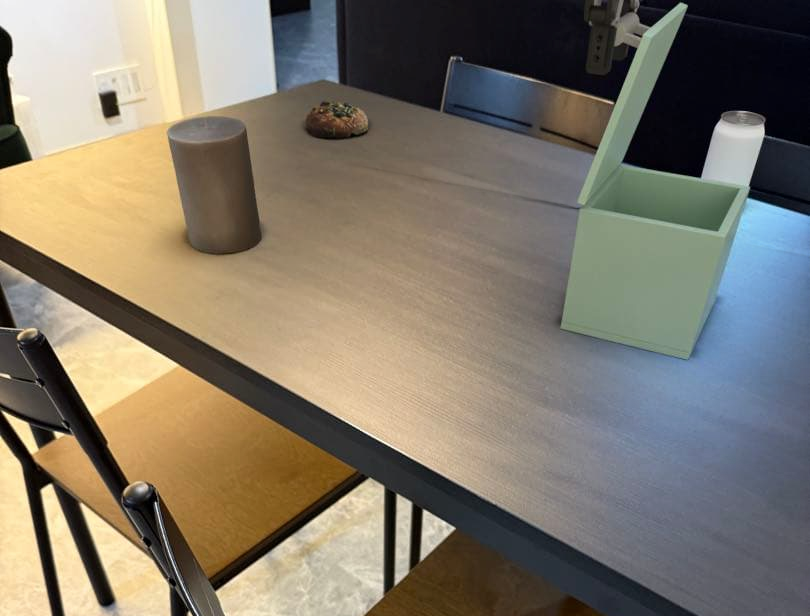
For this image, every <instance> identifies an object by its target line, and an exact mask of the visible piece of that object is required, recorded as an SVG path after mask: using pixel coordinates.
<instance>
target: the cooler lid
mask: <svg viewBox="0 0 810 616" xmlns="http://www.w3.org/2000/svg"><path fill="white" fill-rule="evenodd" d="M688 6H689V5H688V4H685V3H683V2H679V3H678V4H677V5H676V6H675V7H674V8H672V9H671V10H670V11H669V12H668V13H666V14H665V15H664V16H663V17H662V18H660V19H659V20H658V21H657V22H656V23H655V24H653V25H652V26H648V25H645V24H642V23H641V22H640V18H639V16H638V14H637V13H633V12H629V13H626V14H625V15H624V16H622V17H621V18H620V21H619V23H618V25H617V32H616V38H615V45H614V46H618V45H620V44H621V43H622V42H624V43H626V44H629V46H631V47H633V48H636V51H635V54H634V57H633V59H632V62H631V64H630V67H629V69H628V72H627V74H626V77H625V80H624V81H623V85H622V87H621V90H620V92H619V95H618V97H617V100H616V102H615V105H614V107H613V110H612V112H611V114H610V117H609V120H608V123H607V125H606V127H605V131H604V133H603V135H602V138H601V141H600V143H599V146H598V147H597V150H596V153H595V155H594V158H593V161H592V163H591V166H590V168H589V171H588V172H587V173H588V174H587V176H586V178H585V181H584V184H583V186H582V188H581V191H580V194H579V196H578V198H577V201H576V203H577V204H579V205H582V206H583V205H585V204H586V203H587V202H588V200H589V199H590V198H591V197H592V196H593V195H594V193H595V192H596V191H597V190H598V189H599V187H600V186H601V185H602V184H603V183H604V182H605V180H606V179H607V178H608V177H609V176H610V175H611V173H612V172H613V171H614V170H615V169H616V168H617V166H618V165H621V163H622V162H623V160H624V158H625V156H626V153H627V152H628V149H629V146H630V144H631V141H632V139H633V137H634V135H635V132H636V130H637V127H638V125H639V122H640V120H641V118H642V115H643V113H644V112H645V108H646V106H647V103H648V101H649V99H650V97H651V94H652V92H653V90H654V88H655V85H656V82H657V80H658V78H659V76H660V73H661V70H662V69H663V66H664V63H665V61H666V59H667V56H668V54H669V52H670V49H671V47H672V45H673V43H674V40H675V38H676V35H677V33H678V31H679V28H680V26H681V23H682V22H683V19H684V16H685V14H686V12H687V9H688V8H689V7H688ZM635 34H636V35H635ZM638 35H639V36H638Z"/></svg>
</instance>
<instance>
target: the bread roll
mask: <svg viewBox="0 0 810 616" xmlns="http://www.w3.org/2000/svg"><path fill="white" fill-rule="evenodd" d="M305 126H306V128H307V130H308V131H309V132H310V134H312V135H313V136H314V137H315V138H326V139H327V138H329V139H330V138H331V139H333V138H346V137H351V135H352V134H353V135H360V134H364V133H365V132H367V131H368V130H369V127H368V126H369V120H368V117H367V115H366V114H365V112H364V111H363V110H361V109H360V108H359V107H357V106H355V107H353V106H352V105H350V104H348V102H344V103H343V102H338V101H336V100H335V101H329V100H324V101H322V102H321V103H320V104H319V106H313V107H312V109H311V110H310V112H308V113H307V114H306V119H305Z"/></svg>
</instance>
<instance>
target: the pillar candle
mask: <svg viewBox="0 0 810 616" xmlns="http://www.w3.org/2000/svg"><path fill="white" fill-rule="evenodd" d="M166 136H167V140H168V144H169V150H170V154H171V158H172V159H171V160H172V164H173V168H174V173H175V178H176V183H177V188H178V192H179V198H180V203H181V207H182V211H183V216H184V221H185V226H186V230H187V236H188V240H189V243H190V245H191V246H192V248H194V249H196V250H197V251H199V252H203V253H209V254H217V255H218V254H229V253H238V252H243V251H246V250H249V249H251V248H252V247H254V246H256V245H257V244H259V242H260V241H261V240H262V239H263V235H262V231H261V226H260V215H259V209H258V208H259V207H258V202H257V196H256V188H255V180H254V173H253V166H252V160H251V152H250V151H251V150H250V145H249V138H248V130H247V126H246V123H244V122H243V121H242V120H240V119H238V118H235V117H229V116H223V115H221V116H220V115H219V116H218V115H212V116H211V115H210V116H199V117H192V118H188V119H183V120H181V121H179V122H178V123H175V124H174V123H173V124H172V125H171V126H169V127H168V129H167V130H166Z"/></svg>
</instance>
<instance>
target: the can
mask: <svg viewBox="0 0 810 616" xmlns="http://www.w3.org/2000/svg"><path fill="white" fill-rule="evenodd" d="M765 122H766V117H764V116H763V115H761V114H759V113H755V112H751V111H745V110H730V111H726V112H723V113H721V115H720V119H719V121H718V122H717V123H716V125H715V127H714V129H713V132H712V135H711V139H710V143H709V148H708V149H707V150H708V151H707V154H706V158H705V162H704V165H703V169H702V173H701V177H700V178H702V179H707V180H713V181H719V182H725V183H731V184H737V185H743V186H749V187H750V183H751V180H752V176H753V174H754V170H755V167H756V163H757V160H758V157H759V155H760V151H761V148H762V144H763V141H764V137H765V132H766V131H765Z"/></svg>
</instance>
